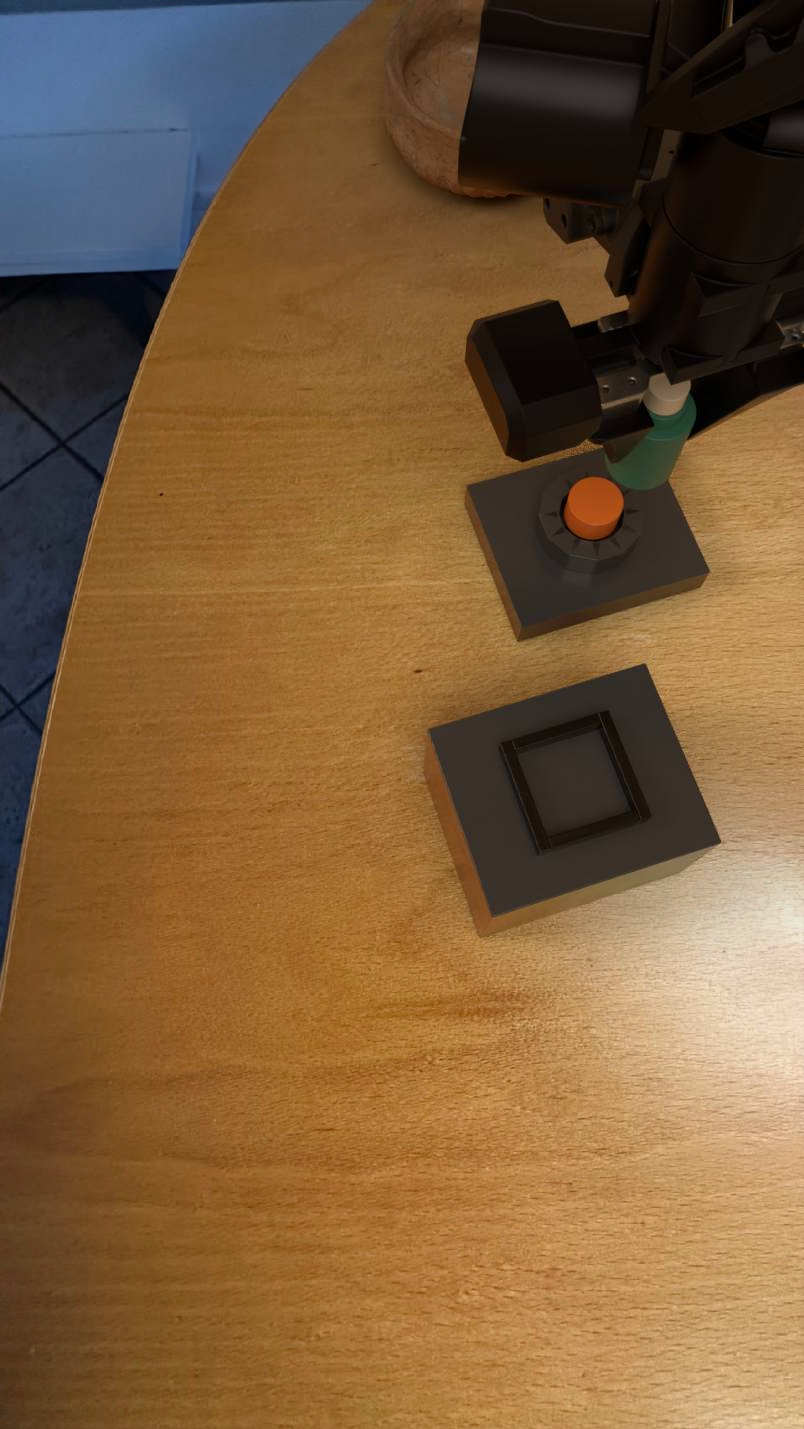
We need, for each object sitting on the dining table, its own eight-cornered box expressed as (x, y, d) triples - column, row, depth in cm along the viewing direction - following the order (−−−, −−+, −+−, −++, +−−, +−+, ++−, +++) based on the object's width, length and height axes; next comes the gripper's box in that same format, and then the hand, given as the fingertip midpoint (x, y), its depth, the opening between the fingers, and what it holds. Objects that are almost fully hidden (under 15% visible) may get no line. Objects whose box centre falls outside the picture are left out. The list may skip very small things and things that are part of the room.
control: (639, 454, 68) (654, 417, 65) (700, 587, 65) (719, 557, 61) (464, 503, 67) (468, 469, 63) (517, 642, 64) (525, 614, 60)
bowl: (646, 72, 77) (675, -31, 67) (610, 258, 77) (634, 181, 67) (406, 33, 78) (400, -75, 68) (369, 216, 77) (357, 134, 67)
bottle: (660, 424, 56) (692, 342, 50) (683, 482, 55) (719, 405, 48) (595, 439, 55) (619, 359, 49) (617, 497, 54) (645, 423, 48)
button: (606, 486, 63) (611, 470, 62) (625, 531, 62) (632, 516, 61) (555, 500, 63) (560, 485, 61) (575, 546, 62) (580, 531, 60)
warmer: (615, 712, 63) (650, 654, 54) (681, 872, 59) (728, 838, 51) (422, 772, 61) (427, 722, 53) (479, 938, 58) (493, 914, 50)
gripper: (867, -7, 42) (746, 274, 57) (427, 107, 40) (419, 368, 55) (1007, 200, 39) (840, 442, 54) (533, 336, 37) (495, 549, 52)
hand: (646, 444), depth 54 cm, fingers closed on bottle, 3 cm apart
